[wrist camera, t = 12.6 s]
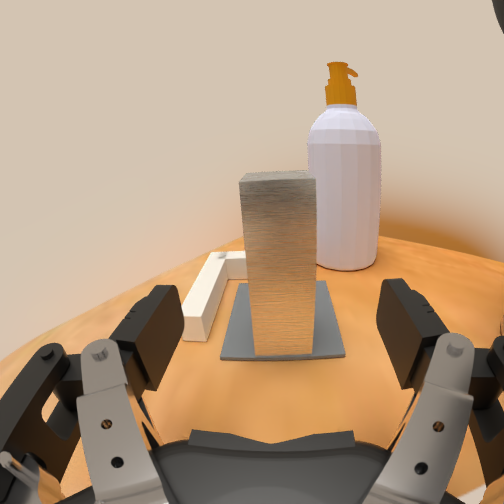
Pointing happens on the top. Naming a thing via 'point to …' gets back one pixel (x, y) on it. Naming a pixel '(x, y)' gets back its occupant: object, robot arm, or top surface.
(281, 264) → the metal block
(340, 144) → the soap bottle
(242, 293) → the pad
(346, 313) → the top surface
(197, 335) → the corner piece
